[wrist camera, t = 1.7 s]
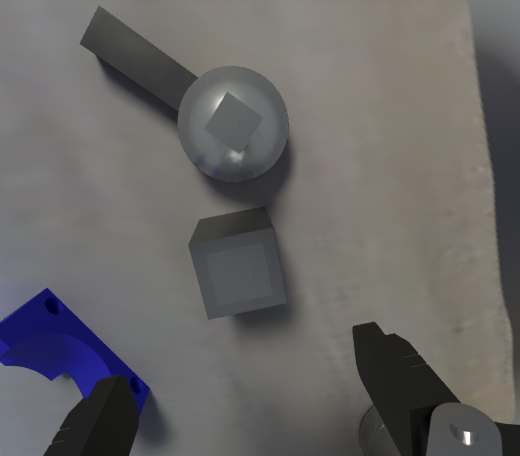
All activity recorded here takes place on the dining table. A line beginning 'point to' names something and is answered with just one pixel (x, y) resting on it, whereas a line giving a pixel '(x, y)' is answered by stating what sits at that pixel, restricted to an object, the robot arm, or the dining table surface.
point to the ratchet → (202, 102)
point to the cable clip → (61, 346)
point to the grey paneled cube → (237, 263)
